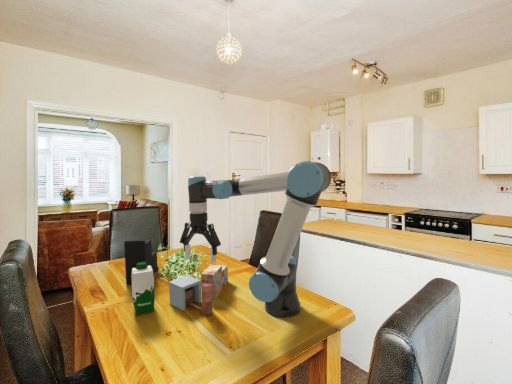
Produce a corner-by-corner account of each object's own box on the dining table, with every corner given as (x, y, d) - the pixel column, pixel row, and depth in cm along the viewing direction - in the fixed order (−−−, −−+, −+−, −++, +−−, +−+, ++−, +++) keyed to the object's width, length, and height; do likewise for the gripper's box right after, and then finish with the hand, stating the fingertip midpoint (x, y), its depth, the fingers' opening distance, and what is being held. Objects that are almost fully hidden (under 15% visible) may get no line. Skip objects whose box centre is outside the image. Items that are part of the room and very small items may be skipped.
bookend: (141, 269, 170) (139, 232, 169) (159, 269, 171) (157, 231, 169) (125, 285, 147) (123, 241, 145) (146, 284, 148) (144, 240, 146)
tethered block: (215, 312, 116) (214, 284, 115) (205, 317, 112) (205, 288, 111) (186, 299, 129) (185, 274, 128) (177, 303, 125) (176, 277, 124)
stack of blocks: (217, 281, 150) (216, 259, 149) (228, 282, 149) (227, 259, 148) (201, 299, 129) (200, 273, 128) (214, 300, 128) (213, 274, 127)
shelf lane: (201, 302, 125) (200, 280, 125) (183, 310, 118) (182, 287, 117) (188, 296, 132) (187, 275, 131) (169, 303, 124) (169, 281, 124)
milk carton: (153, 303, 125) (151, 260, 124) (156, 312, 117) (154, 265, 116) (132, 307, 121) (130, 263, 120) (133, 317, 113) (131, 269, 112)
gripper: (227, 211, 117) (229, 261, 118) (181, 210, 128) (183, 255, 129) (217, 214, 110) (219, 266, 111) (170, 212, 121) (172, 259, 122)
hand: (200, 260), depth 120 cm, fingers open, 13 cm apart
